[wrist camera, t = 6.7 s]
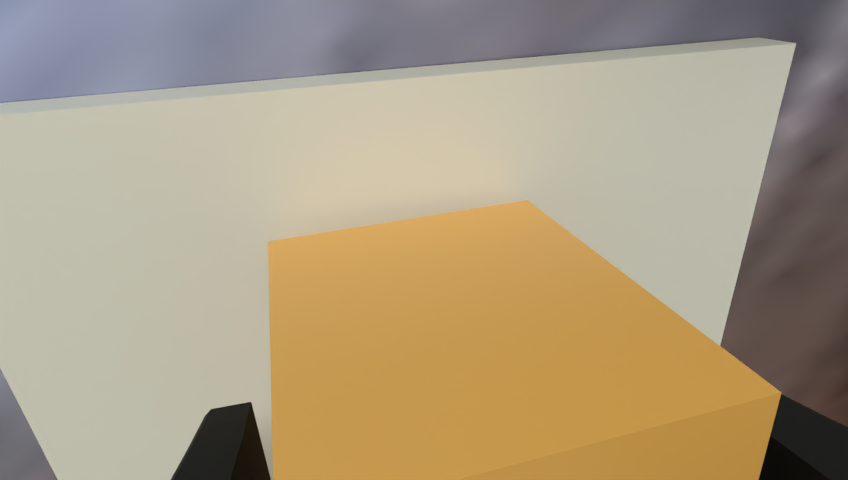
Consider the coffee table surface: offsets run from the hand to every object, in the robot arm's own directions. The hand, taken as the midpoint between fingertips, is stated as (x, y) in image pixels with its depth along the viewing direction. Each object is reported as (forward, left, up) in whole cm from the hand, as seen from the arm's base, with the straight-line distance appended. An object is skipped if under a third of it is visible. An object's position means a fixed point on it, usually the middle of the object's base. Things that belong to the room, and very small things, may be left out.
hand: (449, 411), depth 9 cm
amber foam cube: (0, 0, -2) cm, 2 cm away
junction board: (0, +4, -4) cm, 6 cm away
